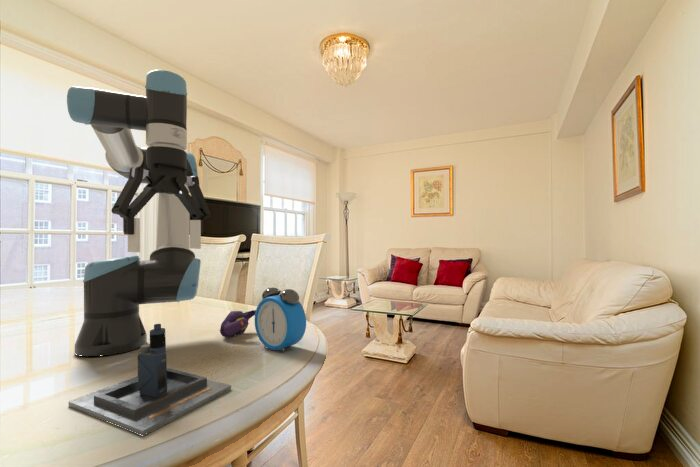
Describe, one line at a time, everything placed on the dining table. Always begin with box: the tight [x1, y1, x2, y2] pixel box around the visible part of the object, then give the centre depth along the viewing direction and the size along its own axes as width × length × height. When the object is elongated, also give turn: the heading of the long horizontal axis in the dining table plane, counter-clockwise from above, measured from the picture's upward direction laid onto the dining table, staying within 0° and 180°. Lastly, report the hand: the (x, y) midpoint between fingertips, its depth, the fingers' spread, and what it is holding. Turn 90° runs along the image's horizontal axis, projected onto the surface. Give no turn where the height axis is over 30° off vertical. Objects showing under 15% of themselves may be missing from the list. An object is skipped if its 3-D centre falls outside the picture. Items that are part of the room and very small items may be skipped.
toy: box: [218, 309, 256, 339], centre depth 96 cm, size 11×12×7 cm
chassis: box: [68, 367, 232, 436], centre depth 58 cm, size 20×16×2 cm
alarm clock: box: [254, 286, 307, 353], centre depth 84 cm, size 13×6×15 cm, turn 55°
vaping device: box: [137, 323, 168, 397], centre depth 58 cm, size 3×5×12 cm, turn 70°
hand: (167, 250), depth 70 cm, fingers open, 13 cm apart
